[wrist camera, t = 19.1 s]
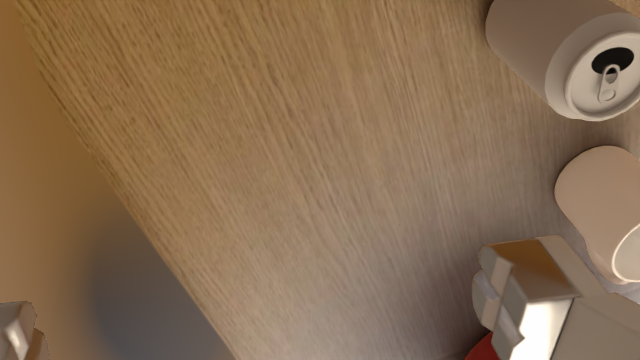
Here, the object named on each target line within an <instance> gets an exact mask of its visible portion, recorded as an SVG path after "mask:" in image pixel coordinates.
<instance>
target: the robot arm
mask: <svg viewBox="0 0 640 360" xmlns="http://www.w3.org/2000/svg"><path fill="white" fill-rule="evenodd" d="M477 260H478V262H479V264H480V265H481V267H482V269H481V270H480V271H479V272H478V273H477V274H476V275H475V276H474V277H473V282H472V288H471V293H472V303H473V306H474V310H475V313H476V315H477V317H478V319H479V321H480V323H481V325H483V326H485V327H486V328H488V329H489V330H491V331H492V332H494V333H493V337H492V341H491V344H492V346H493V348H494V349H495V351H496V353H497V355H498V357H499V359H500V360H640V305H639V304H637V303H635V302H633V301H631V300H629V299H627V298H625V297H623V296H622V295H620V294H618V293H608V292H607V291H606V290H605V288H604V287H603V286H602V285H601V283H600V282H599V281H598V280H597V279H596V277H595V276H594V275H593V274H592V272H591V271H590V270H589V269H588V267H587V266H586V265H585V264H584V262H583V261H582V260H581V259H580V257H579V256H578V255H577V254H576V252H575V251H574V250H573V249H572V248H571V246H570V245H569V244H568V243H567V241H566V240H565V239H564V238H563V237H561V236H559V235H558V234H557V235H550V236H542V237H535V238H532V239H530V238H528V239H521V240H513V241H506V242H498V243H491V244H484V245H483V246H482V248H481V249H480V251H479V255H478V259H477ZM36 318H37V314H36V312H35V310H34V307H33V305H32V303H31V302H28V301H20V302H10V303H0V360H50V353H49V349H48V343H47V340H46V337H45V335H44V333H43V332H41V331H39V330H38V329H36V328H34V326H35V322H36Z"/></svg>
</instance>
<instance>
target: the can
mask: <svg viewBox="0 0 640 360" xmlns="http://www.w3.org/2000/svg"><path fill="white" fill-rule="evenodd" d="M486 38H487V41H488V44H489V47H490V48H491V50H492V51H493V52H494V53H495V54H496V55H497V56H498V57H499V58H500V59H501V60H502V61H503V62H504V63H505V64H506V65H507V66H508V67H509V68H510V69H511V70H512V71H514V72H515V73H516V74H517V75H518V76H519V77H520V78H521V79H522V80H523V81H524V82H525V83H526V84H527V85H528V86H529V87H530V88H531V89H532V90H534V91H535V92H536V93H537V94H538V95H539V96H540V97H541V98H542V99H543V100H544V101H545V102H546V103H547V104H548V105H549V106H550V107H551V108H553V109H554V110H555V111H556V112H557V113H559V114H561V115H563V116H565V117H568V118H574V119H583V120H585V121H602V120H606V119H610V118H613V117H615V116H617V115H619V114H621V113H623V112H625V111H627V110H628V109H629V108H630V107H632V106H633V105H634V104H635V103H637V102H638V101H639V100H640V18H638V17H636V16H635V15H633V14H631V13H629V12H628V11H626V10H624V9H622V8H621V7H619V6H617V5H615V4H614V3H612V2H610V1H608V0H494V1H493V3H492V5H491V6H490V9H489V12H488V16H487V19H486Z"/></svg>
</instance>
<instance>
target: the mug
mask: <svg viewBox="0 0 640 360" xmlns="http://www.w3.org/2000/svg"><path fill="white" fill-rule="evenodd" d="M555 199H556V202H557V204H558V206H559V208H560V209H561V210H562V212H563V213H564V214H565V215H566V217H567V218H568V219H569V220H570V221H571V223H572V224H573V225H574V226H575V227H576V229H577V230H578V231H579V232H580V233H581V235H582V236H583V237H584V238H585V244H586V248H587V252H588V254H589V257H590V259H591V261H592V262H593V264H594V266H595V267H596V268H597V270H598V271H599V272H600V274H601V275H602V276H603V277H605V278H606V279H607V280H608V281H610V282H612V283H615V284H626V283H629V282H640V161H639V160H638V159H636V158H635V157H634V156H633V155H632V154H630V153H629V152H628V151H626V150H624V149H622V148H620V147H616V146H600V147H596V148H592V149H590V150H587V151H585V152H583V153H581V154H580V155H578V156H577V157H575V158H574V159H573V160H571V161H570V162H569V163H568V164H567V165H566V166H565V168H564V169H563V170H562V172H561V173H560V175H559V177H558V179H557V182H556V185H555Z"/></svg>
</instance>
